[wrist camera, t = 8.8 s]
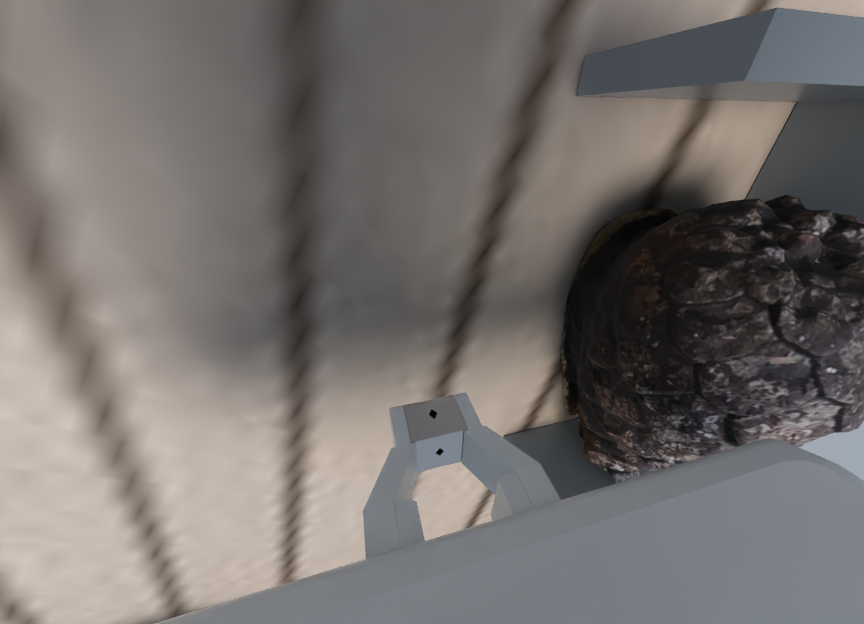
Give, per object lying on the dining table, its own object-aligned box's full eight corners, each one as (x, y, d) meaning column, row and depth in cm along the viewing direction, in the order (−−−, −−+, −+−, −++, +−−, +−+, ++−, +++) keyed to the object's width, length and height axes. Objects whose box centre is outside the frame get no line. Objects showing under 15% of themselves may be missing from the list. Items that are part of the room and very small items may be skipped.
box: (585, 56, 11) (777, 7, 6) (833, 70, 14) (1100, 45, 9) (502, 445, 24) (544, 530, 19) (641, 411, 27) (710, 478, 22)
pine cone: (547, 431, 24) (651, 588, 16) (545, 215, 14) (820, 346, 6) (661, 387, 25) (815, 515, 17) (736, 154, 15) (1202, 196, 7)
